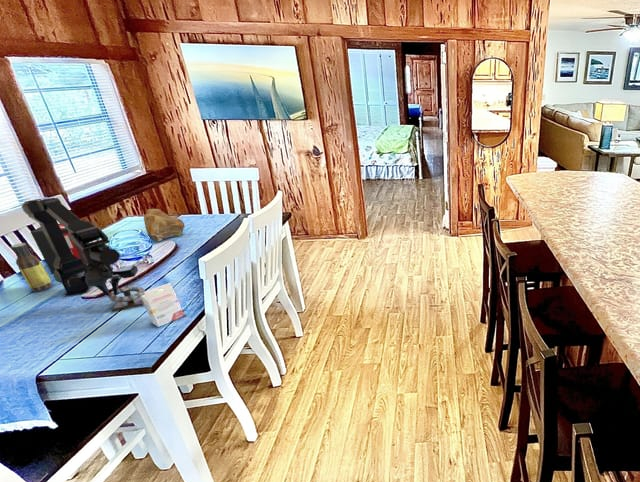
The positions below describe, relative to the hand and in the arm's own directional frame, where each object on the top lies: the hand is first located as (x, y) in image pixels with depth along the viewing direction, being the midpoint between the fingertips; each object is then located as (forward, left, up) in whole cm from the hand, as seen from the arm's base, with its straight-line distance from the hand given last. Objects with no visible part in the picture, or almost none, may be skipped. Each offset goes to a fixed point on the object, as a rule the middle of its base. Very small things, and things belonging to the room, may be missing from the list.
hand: (112, 294), depth 149 cm
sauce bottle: (-31, +29, -5) cm, 43 cm away
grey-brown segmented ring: (+4, 0, -1) cm, 4 cm away
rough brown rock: (+5, +73, -5) cm, 73 cm away
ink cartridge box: (+19, -20, -5) cm, 28 cm away
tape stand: (+4, 0, -5) cm, 6 cm away
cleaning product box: (-24, +47, -5) cm, 53 cm away
